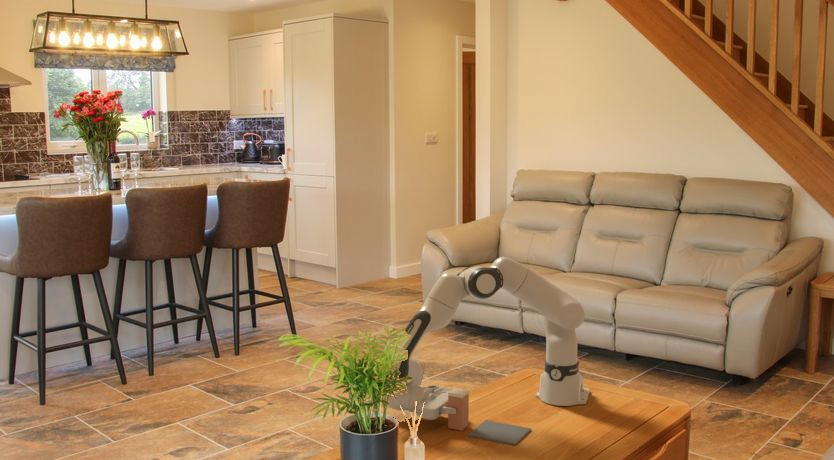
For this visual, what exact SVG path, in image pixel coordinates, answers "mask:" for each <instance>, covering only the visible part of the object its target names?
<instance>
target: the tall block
mask: <svg viewBox="0 0 834 460" xmlns="http://www.w3.org/2000/svg"><path fill="white" fill-rule="evenodd" d="M469 391H470V390H469V389H462V388H458V387H454V388H453V389H452V390H451V391H450V392H448V407H449V408H452V407H455V408H457V409H458V410H457V413H456V414H447V422H448V423H447V429H452V430H458V431H464V430H465V429H466V428H467V427H468V426H469V411H470V410H469V405H470V404H469V403H470V401H469V400H470V397H469V396H470V392H469Z"/></svg>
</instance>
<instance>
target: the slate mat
mask: <svg viewBox="0 0 834 460" xmlns="http://www.w3.org/2000/svg"><path fill="white" fill-rule="evenodd" d="M531 431H532V428H531V427H525V426H519V425H513V424H509V423H503V422H498V421H494V420H493V421H492V420H488V419H485V420H484V421H483V422H481V423H480V424H479V425H478V426H477V427H475V428H474V429H473V430H471V431H470V432H469V433H468V434H467V436H468V437H472V438H476V439H482V440H486V441H490V442H497V443H502V444H505V445H506V444H507V445H511V446H517V445H518V443H520V442H521V441H522V440H523V439H524V438H525V437H526V436H527V435H528V434H529V433H530V432H531Z"/></svg>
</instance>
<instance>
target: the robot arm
mask: <svg viewBox="0 0 834 460" xmlns="http://www.w3.org/2000/svg"><path fill="white" fill-rule="evenodd" d="M500 289H502V290H505V291H506V292H507V293H509V294H510V295H512V296H514V297H515V298H517V300H519V301H521V302H523V303H524V304H526V305H527V306H529V307H530V308H532V309H533V310H534V311H536V312H537V313H539V314H540V315H541V316H543V322H544V331H545V341H546V342H545V360H544V363H543V364H544V365H543V368H544V371H543V372H542V374H540V376H539V377H540V378H539V390H538V391H537V392H535V394H534V395H535V397H537V398H538V399H540V401H542V402H543V403H545V404H548V405H552V406H558V407H559V406H561V407H564V406H565V407H569V406H576V405H586V404H587V402H588V400H589V399H588V398H589V395H590V388H588V387H585V386H584V381H585V379H584V376H583V375H581V373H580V372H579V371H580V369H579V368H580V362H581V361H580V359H578V343H579V342H578V338H577V334H576V329H577V328H579V327H581V325H582V324H583V323H584V320H585V316H586V313H585V310H584V307H583V306H582V304H581V302H580V301H579V300H577V299H576V298H574V297H573V296H572V295H570V294H569V293H568V292H566V291H564V290H562V289H560V288H559V287H558V286H556V285H555V284H553V283H551V282H550V281H549V280H547V279H546V278H544V277H543V276H541V275H540V274H538V273H536V272H535V271H533V270H532V269H531V268H529V267H527V266H526V265H524V264H522V263H521V262H518V261H516V260H514V259H512V258H511V257H508V256H499V257H497V258H496V259H495V260H494V261H493V262H492V263H491V265H490V266H489V267H488V266H487V267H486V266H478V265H477V266H476V265H475V266H473V265H472V266H468V267H466V268H464V269H463V270H461V271H460V272H458V273H452V272H444V273H443V274H441V276H439V278H438V279H437V280H436V281H435V283H434V284H433V286H432V288H431V290H430V291H429V293H428V295H427V297H426V299H425V300H424V303H423V304H422V306H421V307H420V309H419V310H418V311H417V312H416V314H415V315H414V316H413V317H412V318H411V320H410V322H409V323H408V324H407V326H406V328H405V329H404V330H405V331H406V332H407V334H409V335H411V338H410V339H409V340H408V341H407V342H406V343H405V345H404V346H403V348H404V350H408V359H407V360H405V361H402V362H399V363H396V364H395V367H397V368H398V370H399V371H400V372H401V374H400V375H399V378H403V377H406V376H411V377H412V380H411V381H410V382H408V383H406V386H407V390H408V394H407V393H406V390H402V393H403V395H401V394H400V393H395V396H396V398H397V399H398V400H396V399H394V398H393V397H391V398H390V399H389V406H388V407H387V408H389V409H393V410H396V411H401V412H402V410H401V408H400V405H401V407H402V409H403V411H406V412H407V411H408V412H409V413H412V412H414V410H415V401H417V406H416V413H415V414H416V416H418V417H419V418H423V419H426V420H429V421H433V420H436V419H438V418H439V417H441V416H442V415H448V414H456V413H457V410H458V409H457V408H455V407H452V408H449V407H448V392H450V391H451V390H453V389H451V388H448V387H440V386H439V385H436V384H432V385H428V386H421V384H422V380H423V378H424V371H425V370H424V367H423V364H422V363H421V361H419V360H417V359H415V358H413V357H412V354H413V353H414V352H415V350H416V348H417V346H418V345H419V343H420V342H421V340H422V338H423V337H424V336H425V335H426V334H428V333H429V332H432V331H437V330H441V329H443V328H445V327H447V326H448V325H449V324H450V322H451V321H452V319H453V317H454V316H455V314H456V312H457V309H458V308H459V305H460V303H461V302H462V301H463V299H465V298H466V297H468V296H469V297H472V298H475V299H481V300H482V299H488V298H490V297H492V296H494V295H495V294H496V293H497V292H498V291H499V290H500ZM424 402H425V403H424ZM423 403H424V408H423V414H422V417H420V415H421V413H422V407H423Z"/></svg>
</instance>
